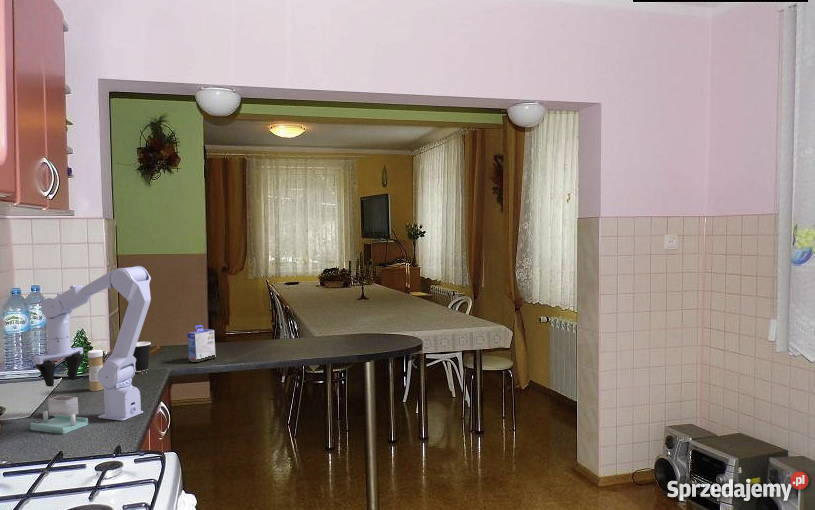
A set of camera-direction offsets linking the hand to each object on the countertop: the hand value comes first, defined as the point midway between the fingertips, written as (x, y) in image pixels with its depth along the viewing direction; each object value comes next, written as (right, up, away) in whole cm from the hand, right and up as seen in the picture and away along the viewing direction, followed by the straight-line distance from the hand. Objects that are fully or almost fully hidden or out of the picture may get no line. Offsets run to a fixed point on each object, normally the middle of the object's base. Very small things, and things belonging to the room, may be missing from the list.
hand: (61, 382), depth 180 cm
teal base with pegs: (+6, -10, -12) cm, 16 cm away
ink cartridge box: (+18, -6, +69) cm, 72 cm away
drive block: (+1, -10, 0) cm, 10 cm away
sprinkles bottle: (-3, -8, +27) cm, 28 cm away
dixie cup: (+1, -7, +51) cm, 51 cm away
